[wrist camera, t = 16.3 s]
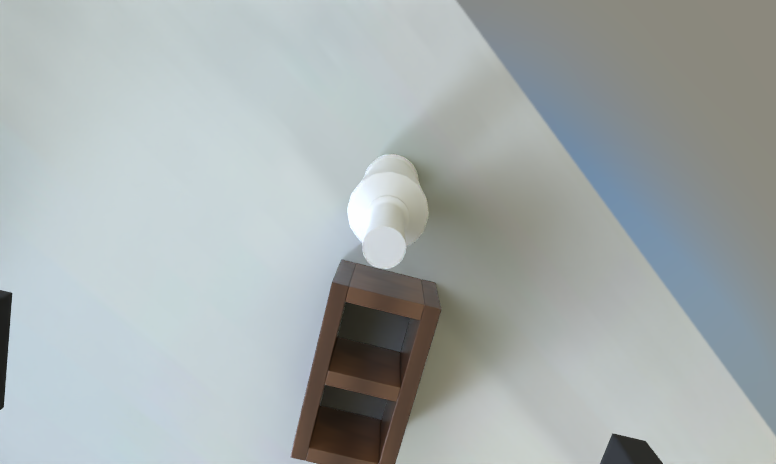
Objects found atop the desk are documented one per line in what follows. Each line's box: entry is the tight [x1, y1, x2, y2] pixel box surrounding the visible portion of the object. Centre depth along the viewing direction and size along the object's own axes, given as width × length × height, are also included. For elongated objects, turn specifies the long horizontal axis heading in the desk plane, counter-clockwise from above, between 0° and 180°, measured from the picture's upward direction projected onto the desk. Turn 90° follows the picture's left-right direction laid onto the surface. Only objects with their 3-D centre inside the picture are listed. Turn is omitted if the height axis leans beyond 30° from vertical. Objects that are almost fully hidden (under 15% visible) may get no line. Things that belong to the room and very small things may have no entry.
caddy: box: [290, 260, 441, 464], centre depth 47 cm, size 10×18×7 cm, turn 166°
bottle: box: [347, 154, 429, 269], centre depth 34 cm, size 5×5×25 cm
